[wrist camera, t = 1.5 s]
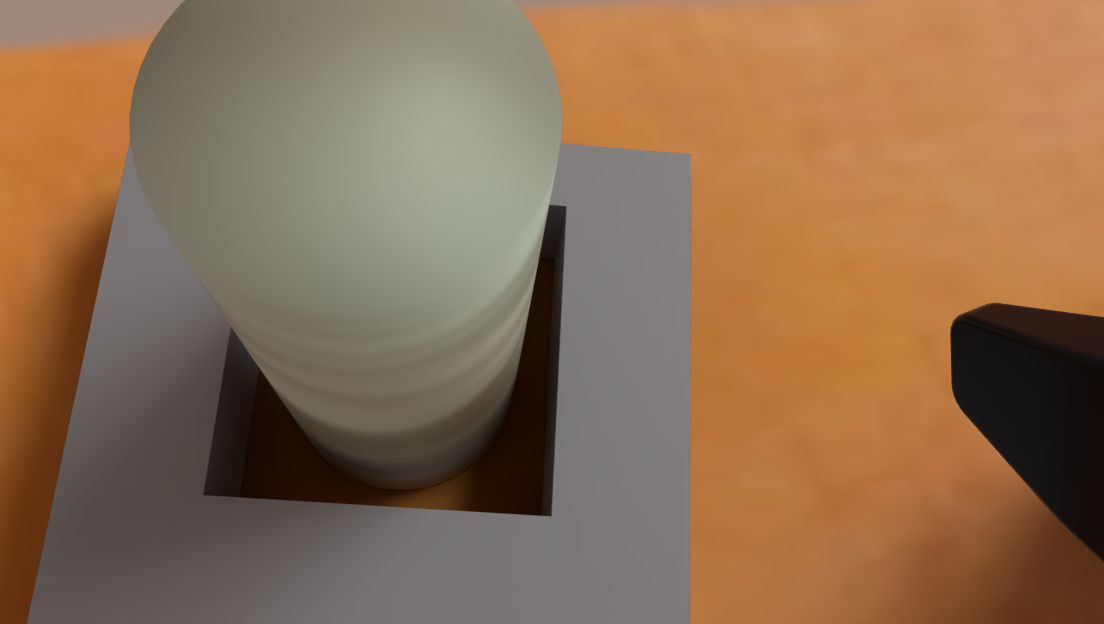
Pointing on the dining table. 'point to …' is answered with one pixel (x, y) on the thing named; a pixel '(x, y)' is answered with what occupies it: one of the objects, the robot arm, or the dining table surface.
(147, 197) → the peg
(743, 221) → the dining table surface
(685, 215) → the pocket board
